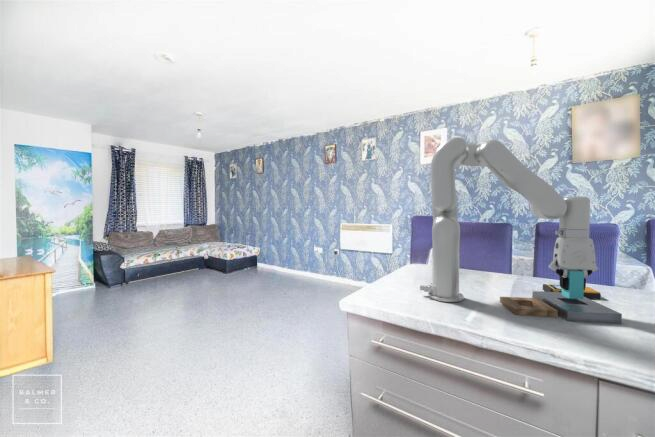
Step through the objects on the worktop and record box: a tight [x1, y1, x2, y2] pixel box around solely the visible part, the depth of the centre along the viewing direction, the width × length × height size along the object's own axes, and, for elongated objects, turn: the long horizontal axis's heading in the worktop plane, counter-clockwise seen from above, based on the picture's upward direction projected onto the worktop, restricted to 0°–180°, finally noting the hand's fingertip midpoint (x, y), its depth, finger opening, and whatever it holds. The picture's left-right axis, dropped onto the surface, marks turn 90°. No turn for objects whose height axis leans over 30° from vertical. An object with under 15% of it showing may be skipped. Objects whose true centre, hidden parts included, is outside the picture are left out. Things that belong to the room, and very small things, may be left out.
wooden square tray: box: [499, 296, 559, 318], centre depth 96 cm, size 12×12×2 cm
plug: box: [562, 269, 584, 299], centre depth 94 cm, size 4×4×9 cm
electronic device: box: [542, 283, 602, 300], centre depth 110 cm, size 8×16×3 cm, turn 71°
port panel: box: [531, 290, 623, 325], centre depth 94 cm, size 14×20×3 cm
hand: (572, 288), depth 94 cm, fingers closed on plug, 4 cm apart
